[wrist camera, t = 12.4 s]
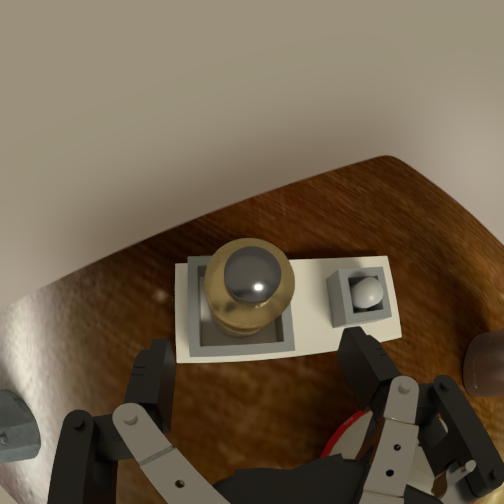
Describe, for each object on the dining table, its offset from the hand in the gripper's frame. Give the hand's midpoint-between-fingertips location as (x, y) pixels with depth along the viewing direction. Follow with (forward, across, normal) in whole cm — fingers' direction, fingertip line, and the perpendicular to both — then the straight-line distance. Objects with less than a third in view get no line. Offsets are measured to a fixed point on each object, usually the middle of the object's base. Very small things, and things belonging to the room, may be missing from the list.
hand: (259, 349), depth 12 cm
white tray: (+12, -5, +6) cm, 14 cm away
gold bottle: (+11, 0, +5) cm, 12 cm away
